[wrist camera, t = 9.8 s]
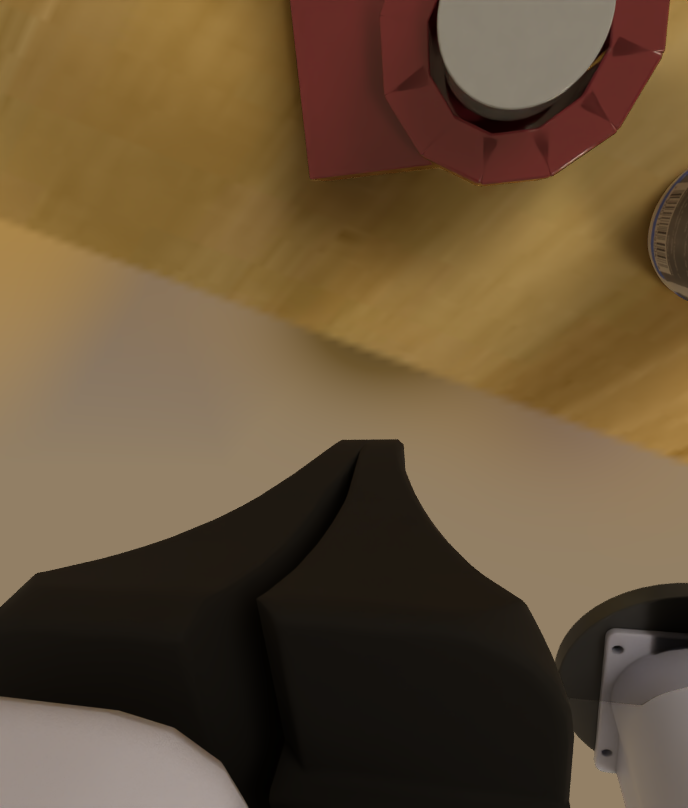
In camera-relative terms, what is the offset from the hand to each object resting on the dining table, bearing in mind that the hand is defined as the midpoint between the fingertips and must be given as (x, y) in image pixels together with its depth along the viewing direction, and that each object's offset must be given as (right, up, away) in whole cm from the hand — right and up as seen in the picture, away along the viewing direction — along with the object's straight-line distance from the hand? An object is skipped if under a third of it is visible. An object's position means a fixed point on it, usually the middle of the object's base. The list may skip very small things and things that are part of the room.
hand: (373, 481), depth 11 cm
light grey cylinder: (+4, +11, +1) cm, 11 cm away
